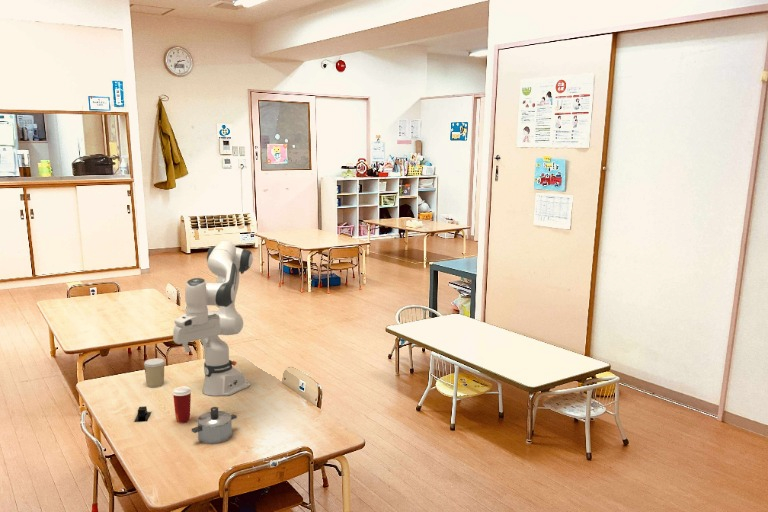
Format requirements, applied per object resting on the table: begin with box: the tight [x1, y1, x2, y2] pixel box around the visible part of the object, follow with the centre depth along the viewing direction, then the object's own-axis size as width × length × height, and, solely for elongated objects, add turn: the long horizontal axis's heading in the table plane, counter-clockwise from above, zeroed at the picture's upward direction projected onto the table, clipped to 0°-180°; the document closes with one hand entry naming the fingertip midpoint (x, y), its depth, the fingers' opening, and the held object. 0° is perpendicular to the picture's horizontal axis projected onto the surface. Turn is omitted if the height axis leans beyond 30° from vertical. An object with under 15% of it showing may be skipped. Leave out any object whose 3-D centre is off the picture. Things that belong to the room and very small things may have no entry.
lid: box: [197, 406, 232, 427], centre depth 237 cm, size 13×13×5 cm
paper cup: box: [171, 385, 192, 424], centre depth 251 cm, size 8×8×14 cm
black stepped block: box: [133, 405, 152, 423], centre depth 254 cm, size 12×7×5 cm, turn 11°
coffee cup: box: [143, 357, 166, 389], centre depth 288 cm, size 9×9×12 cm
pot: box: [191, 413, 238, 445], centre depth 238 cm, size 19×13×7 cm
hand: (198, 349), depth 248 cm, fingers open, 8 cm apart
